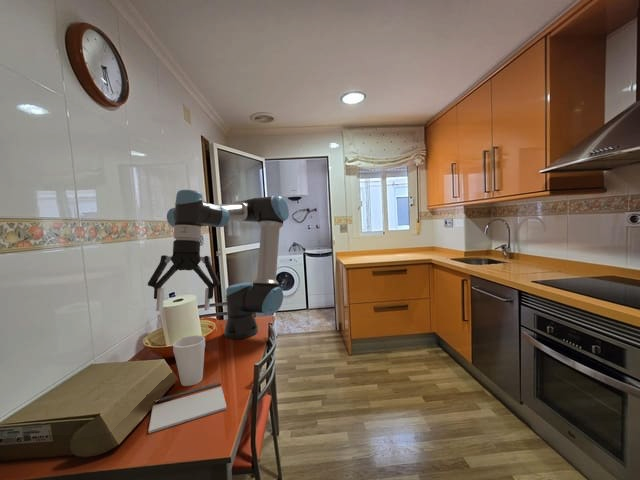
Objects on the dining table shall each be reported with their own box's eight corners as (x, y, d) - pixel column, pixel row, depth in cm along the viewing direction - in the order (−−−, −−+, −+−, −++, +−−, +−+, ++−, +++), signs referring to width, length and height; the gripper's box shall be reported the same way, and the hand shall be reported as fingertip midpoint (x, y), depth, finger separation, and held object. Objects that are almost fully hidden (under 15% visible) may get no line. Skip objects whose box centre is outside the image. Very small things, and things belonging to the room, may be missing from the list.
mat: (221, 388, 84) (221, 386, 84) (226, 409, 75) (226, 406, 75) (153, 407, 77) (153, 405, 76) (148, 433, 67) (148, 431, 67)
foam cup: (185, 373, 95) (183, 335, 94) (212, 372, 94) (209, 335, 94) (169, 389, 85) (166, 348, 85) (199, 388, 85) (196, 347, 84)
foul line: (220, 382, 88) (220, 381, 88) (220, 384, 87) (220, 383, 87) (154, 400, 80) (154, 399, 80) (154, 403, 79) (153, 402, 79)
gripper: (137, 238, 81) (132, 312, 79) (226, 239, 84) (223, 311, 82) (149, 240, 88) (145, 308, 86) (231, 242, 91) (228, 307, 89)
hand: (183, 310), depth 84 cm, fingers open, 13 cm apart
